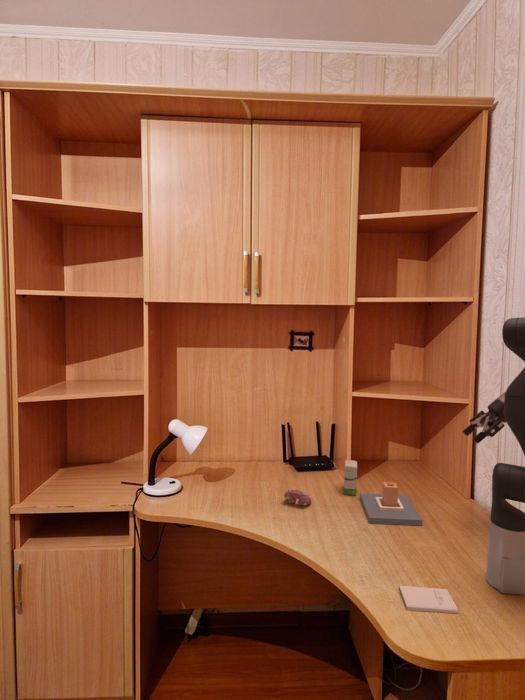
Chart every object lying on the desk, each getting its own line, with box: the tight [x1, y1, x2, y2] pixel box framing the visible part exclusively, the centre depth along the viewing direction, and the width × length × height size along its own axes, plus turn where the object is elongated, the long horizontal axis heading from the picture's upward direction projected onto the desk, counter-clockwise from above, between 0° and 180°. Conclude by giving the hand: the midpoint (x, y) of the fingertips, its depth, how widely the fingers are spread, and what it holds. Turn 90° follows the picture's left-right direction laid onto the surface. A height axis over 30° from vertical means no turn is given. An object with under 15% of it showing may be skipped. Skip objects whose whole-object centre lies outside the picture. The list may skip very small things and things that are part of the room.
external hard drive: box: [398, 585, 459, 614], centre depth 110 cm, size 2×8×12 cm
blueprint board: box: [359, 492, 423, 527], centre depth 158 cm, size 20×18×3 cm
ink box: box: [343, 459, 358, 497], centre depth 174 cm, size 9×5×12 cm, turn 168°
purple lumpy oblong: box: [283, 489, 312, 506], centre depth 162 cm, size 10×5×7 cm, turn 63°
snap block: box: [381, 481, 399, 507], centre depth 157 cm, size 4×4×9 cm
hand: (469, 437), depth 148 cm, fingers open, 8 cm apart
